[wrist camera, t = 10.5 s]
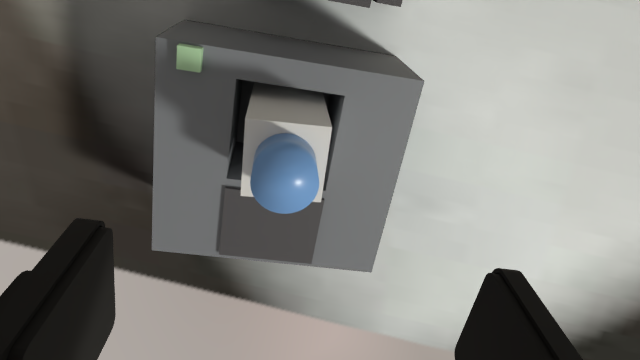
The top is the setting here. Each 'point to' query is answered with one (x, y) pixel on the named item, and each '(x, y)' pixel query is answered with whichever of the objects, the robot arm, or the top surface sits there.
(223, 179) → the port
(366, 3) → the grey u-shaped cradle
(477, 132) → the top surface
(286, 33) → the top surface
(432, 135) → the top surface
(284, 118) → the plug
